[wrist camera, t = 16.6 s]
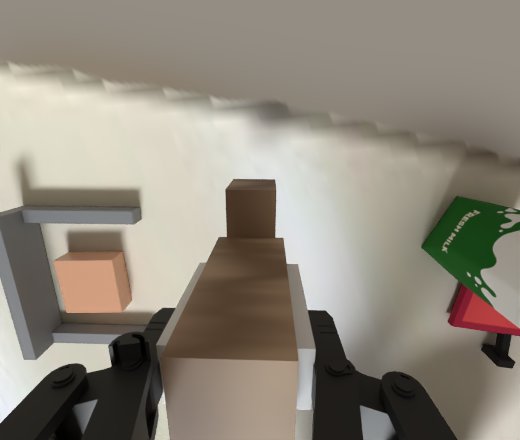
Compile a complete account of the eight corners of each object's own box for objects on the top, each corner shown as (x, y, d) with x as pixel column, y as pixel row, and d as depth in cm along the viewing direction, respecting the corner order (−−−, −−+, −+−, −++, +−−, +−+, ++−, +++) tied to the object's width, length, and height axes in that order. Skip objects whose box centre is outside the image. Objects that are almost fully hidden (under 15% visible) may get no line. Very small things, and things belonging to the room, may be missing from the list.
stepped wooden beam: (281, 179, 21) (304, 265, 7) (278, 300, 24) (290, 520, 10) (226, 179, 21) (148, 262, 7) (230, 299, 24) (179, 515, 10)
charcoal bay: (139, 207, 34) (118, 219, 29) (155, 334, 39) (139, 362, 34) (23, 205, 34) (-17, 217, 30) (53, 332, 40) (24, 359, 35)
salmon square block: (124, 250, 36) (111, 260, 33) (133, 298, 38) (121, 312, 35) (70, 251, 36) (53, 261, 33) (81, 299, 38) (66, 312, 35)
